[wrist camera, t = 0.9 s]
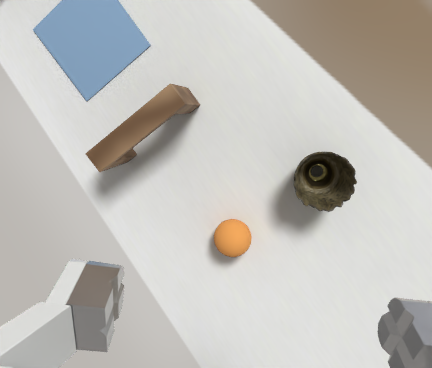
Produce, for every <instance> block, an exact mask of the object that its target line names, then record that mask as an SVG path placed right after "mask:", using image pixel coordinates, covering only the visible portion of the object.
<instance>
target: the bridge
mask: <svg viewBox="0 0 432 368" xmlns="http://www.w3.org/2000/svg"><path fill="white" fill-rule="evenodd" d="M198 106H200V104H199V103H198V101H197V100H196V98H195V97H194V96H193V94H192V93H191V91H190V90H189V89H188V88H186V87H182V86H178V85H174V84H169V85H168V86H167V87H166V88H164V89H163V90H162V91H161V92H160V93H158V94H157V95H156V96H155V97H154V98H152V99H151V100H150V101H149V102H147V103H146V104H145V105H144V106H143V107H141V108H140V109H139V110H138V111H137V112H135V113H134V114H133V115H132V116H131V117H129V118H128V119H127V120H126V121H124V122H123V123H122V124H121V125H120V126H118V127H117V128H116V129H115V130H114V131H112V132H111V133H110V134H109V135H108V136H106V137H105V138H104V139H103V140H101V141H100V142H99V143H98V144H97V145H95V146H94V147H93V148H92V149H91V150H89V151H88V152H87V153H86V155H87V156H88V158H89V159H90V160H91V162H92V163H93V164H94V166H95V167H96V168H97V169H98V171H99V172H102V171H105V170H107V169H110V168H113V167H115V166H118V165H121V164H124V163H126V162H128V161H130V160H131V159H132V158H133V157H135V156H136V155H137V154H136V152H135V151H134V150H133V147H134V146H136V145H137V144H138V143H139V142H141V141H142V140H143V139H145V138H146V137H147V136H148V135H150V134H151V133H152V132H153V131H155V130H156V129H157V128H158V127H160V126H161V125H162V124H163V123H165V122H166V121H167V120H168V119H170V118H171V117H172V116H173V115H175V114H186V113H191V112H192V111H193V110H194V109H196V108H197V107H198Z"/></svg>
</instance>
